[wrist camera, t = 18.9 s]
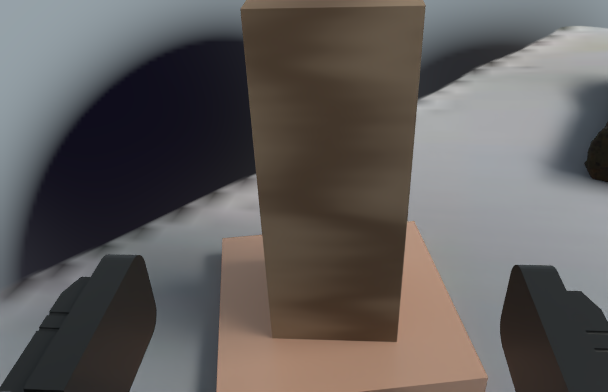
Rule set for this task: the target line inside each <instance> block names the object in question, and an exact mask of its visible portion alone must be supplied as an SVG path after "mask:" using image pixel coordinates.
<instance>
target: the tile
mask: <svg viewBox="0 0 608 392" xmlns="http://www.w3.org/2000/svg"><path fill="white" fill-rule="evenodd" d="M487 380H488V376H487V374H486V372H485V370H484V368H483V366H482V364H481V362H480V359H479V357H478V355H477V353H476V351H475V349H474V347H473V345H472V343H471V340H470V338H469V336H468V334H467V332H466V330H465V328H464V326H463V324H462V321H461V319H460V317H459V315H458V313H457V311H456V309H455V307H454V304H453V302H452V300H451V298H450V296H449V294H448V292H447V290H446V288H445V285H444V283H443V281H442V279H441V277H440V275H439V273H438V271H437V269H436V266H435V264H434V262H433V260H432V258H431V256H430V254H429V252H428V249H427V247H426V245H425V243H424V241H423V239H422V237H421V235H420V233H419V230H418V228H417V226H416V224H415V222H414V221H410V222H407V229H406V241H405V252H404V264H403V276H402V288H401V300H400V311H399V323H398V335H397V342H375V341H343V340H311V339H278V338H272V330H271V320H270V310H269V299H268V289H267V279H266V268H265V258H264V248H263V237H262V235H254V236H243V237H232V238H223V241H222V266H221V291H220V315H219V340H218V365H217V389H216V392H485V389H486V384H487Z"/></svg>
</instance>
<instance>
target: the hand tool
mask: <svg viewBox="0 0 608 392" xmlns="http://www.w3.org/2000/svg"><path fill="white" fill-rule="evenodd" d="M584 164H585V166H586V168H587V170H588V172H589V174H590V176H591V177H592V178H593V179H596V180H601V181H605V182H608V122H607V124H606V127H605V128H604V129H602V131H600V132H599V133H598V135H597V136H596V138H595V139H594V140H593V141H592V142H591V145H590V148H589V151H588V157H587V161H586V162H585V163H584Z"/></svg>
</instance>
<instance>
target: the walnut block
mask: <svg viewBox="0 0 608 392" xmlns="http://www.w3.org/2000/svg"><path fill="white" fill-rule="evenodd" d="M424 16H425V4H424V1H423V0H246V2H245V3H244V4H243V6H242V8H241V20H242V30H243V40H244V51H245V61H246V72H247V82H248V91H249V102H250V113H251V123H252V134H253V144H254V154H255V164H256V175H257V185H258V196H259V206H260V216H261V227H262V237H263V248H264V258H265V268H266V279H267V289H268V299H269V310H270V320H271V330H272V338H278V339H311V340H343V341H375V342H397V335H398V323H399V311H400V300H401V288H402V276H403V264H404V252H405V241H406V229H407V217H408V205H409V194H410V182H411V170H412V158H413V147H414V135H415V123H416V111H417V100H418V98H417V97H418V87H419V76H420V64H421V52H422V40H423V29H424Z"/></svg>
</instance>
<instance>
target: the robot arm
mask: <svg viewBox="0 0 608 392" xmlns="http://www.w3.org/2000/svg"><path fill="white" fill-rule="evenodd" d="M155 324H156V304H155V300H154V296H153V292H152V288H151V284H150V280H149V276H148V272H147V268H146V264H145V261H144V259H143V257H142V256H140V255H110V254H108V255H105V256H104V257H103V258H102V260H101V261H100V263H99V264H98V266H97V268H96V269H95V271H94V273H93V274H92V276H91V277H81V278H79V279H78V280H77V281H76V282H74V283H73V284H72V285H71V286H70V287H68V288H67V289H66V290H65V291H63V292H62V293H61V295H60V296H59V298H58V299H57V301H56V302H55V304H54V305H53V307H52V308H51V310H50V314H49V316H48V315H47V316H46V318H45V319H44V321H43V322H42V324H41V325H40V327H39V328H40V329H39V331H36V333H35V335H34V336H33V338H32V339H31V341H30V342H29V344H28V345H27V347H26V348H25V350H24V351H23V353H22V354H21V356H20V358H19V359H18V361H17V362H16V364H15V365H14V367H13V368H12V370H11V371H10V373H9V374H8V376H7V377H6V379H5V380H4V382H3V384H2V385H1V387H0V392H129V391H130V388H131V386H132V383H133V381H134V379H135V376H136V374H137V371H138V369H139V366H140V364H141V362H142V359H143V357H144V354H145V352H146V349H147V347H148V344H149V342H150V340H151V337H152V335H153V332H154V329H155ZM500 335H501V342H502V347H503V350H504V354H505V357H506V360H507V364H508V367H509V371H510V374H511V377H512V381H513V384H514V387H515V391H516V392H608V321H607V320H606V318H605V316H604V314H603V312H602V310H601V309H600V308H599V307H598V306H596V305H595V304H594V303H593V302H592V301H591V300H590V299H589V298H588V297H587V296H586V295H584V294H583V293H582V292H581V291H566V289H565V287H564V284H563V282H562V280H561V278H560V276H559V274H558V272H557V270H556V269H555V267H553V266H545V265H515V266H514V267H513V268H512V271H511V275H510V279H509V284H508V288H507V292H506V297H505V301H504V305H503V310H502V314H501V321H500Z"/></svg>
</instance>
